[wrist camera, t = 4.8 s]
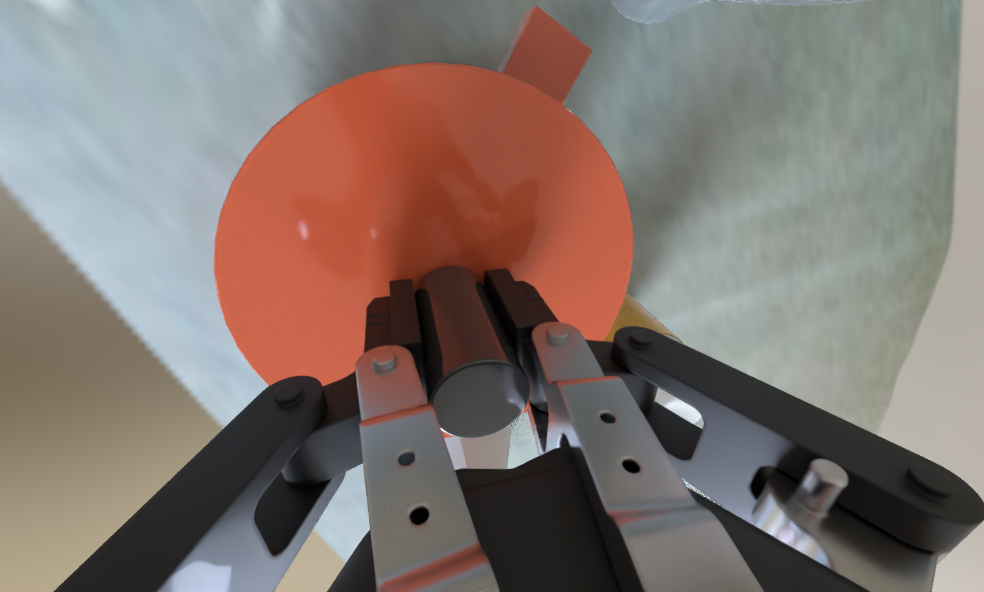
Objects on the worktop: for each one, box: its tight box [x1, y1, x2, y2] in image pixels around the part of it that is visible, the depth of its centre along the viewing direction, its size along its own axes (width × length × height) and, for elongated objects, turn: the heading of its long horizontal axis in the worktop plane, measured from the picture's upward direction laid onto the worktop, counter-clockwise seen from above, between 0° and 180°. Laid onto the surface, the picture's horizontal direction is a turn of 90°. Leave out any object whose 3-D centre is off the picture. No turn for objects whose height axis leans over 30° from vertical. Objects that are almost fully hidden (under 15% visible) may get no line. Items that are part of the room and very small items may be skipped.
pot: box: [497, 6, 592, 104], centre depth 18 cm, size 13×18×8 cm
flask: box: [444, 424, 511, 470], centre depth 26 cm, size 7×7×10 cm
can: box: [604, 293, 701, 424], centre depth 24 cm, size 6×6×9 cm
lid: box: [214, 62, 633, 438], centre depth 12 cm, size 14×14×6 cm
